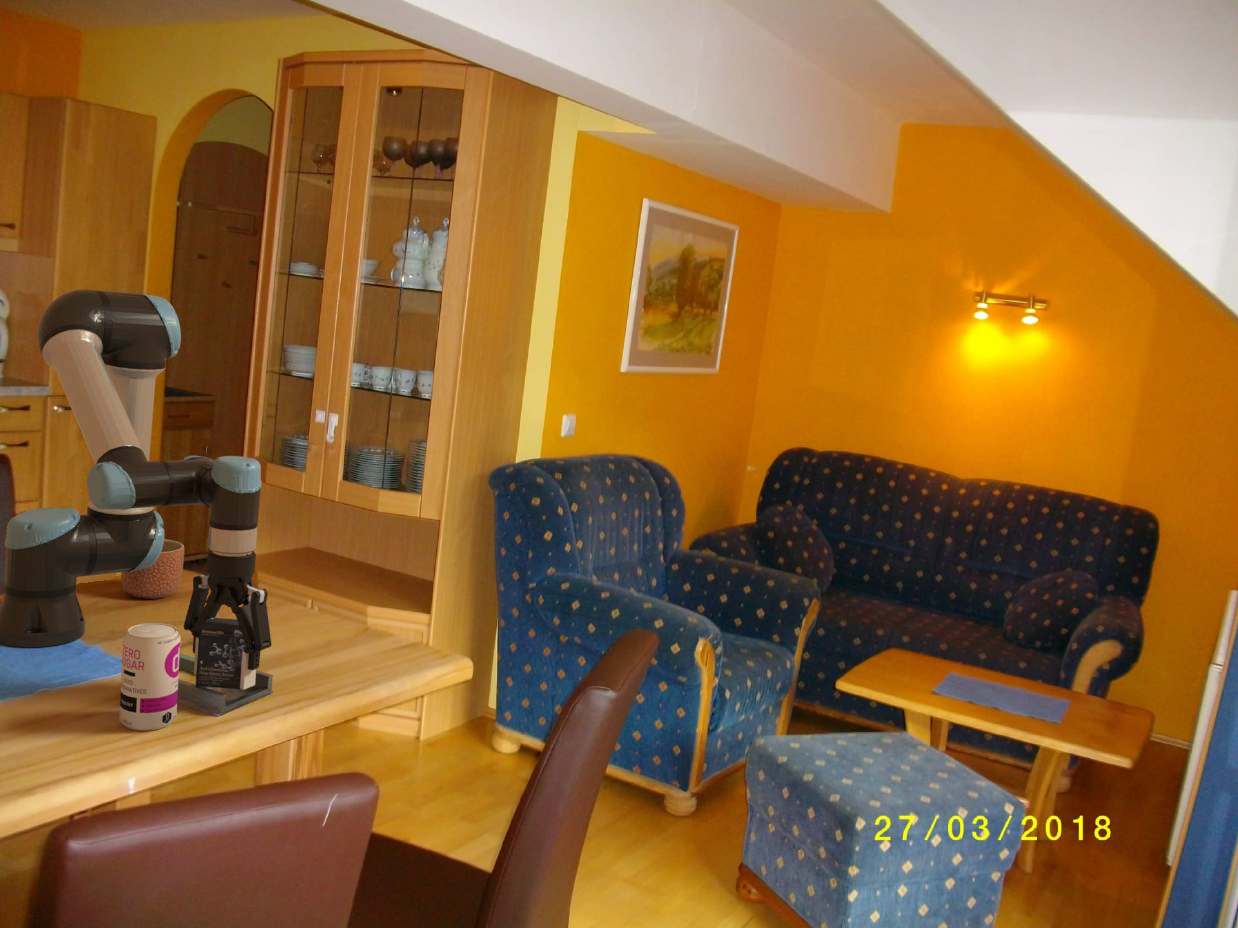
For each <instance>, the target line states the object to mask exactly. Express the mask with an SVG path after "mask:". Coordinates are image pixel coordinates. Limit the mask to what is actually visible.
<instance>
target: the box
mask: <svg viewBox="0 0 1238 928" xmlns="http://www.w3.org/2000/svg"><path fill="white" fill-rule="evenodd" d="M253 644H254V641H253ZM244 650H247V648H246V645H245V642H244V639H243V636H242V633H241V630H240V627H239V624H238V621H237V618H236V619H235V618H234V619H233V618H222V617H220V618H219V617H215V618H214V617H213V618H210V619H207V620H206V621H205V622H204V623H203V624H202V625H201V626H200V628H199V641H198V658H197V672H196V675H195V676H196V677H195V684H196V685H199V686H204V687H216V688H229V689H238V690H243V689H240V681H241V666H242V651H244Z"/></svg>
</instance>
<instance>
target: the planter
mask: <svg viewBox="0 0 1238 928" xmlns="http://www.w3.org/2000/svg"><path fill="white" fill-rule="evenodd" d="M184 559H185V545H184V544H183V543H182V542H179V541H176V540H172V539H166V538H164V543H163V548H162V551H161V553H160V556H159V557H158V559H157V560H156V562H155V563H153V564H152V565H151V566H150V567H148V568H146V569H141V570H134V571H132V572H120V580H121V586H122V588H123V589H124V590H125V591H126V593H128V595H130V596H132V597H135V598H138V599H143V600H155V599H156V600H157V599H164V598H167V597H169V596H171V595H172V594H174V593H175V592H176V591H177V590H178V589H179V588H180V586H181V584H182V579H183V569H184V561H185V560H184Z"/></svg>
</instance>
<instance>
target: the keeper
mask: <svg viewBox="0 0 1238 928" xmlns="http://www.w3.org/2000/svg"><path fill="white" fill-rule="evenodd" d="M273 677H274V676H273V674H271V673H267V672H264V671H260V670H257V669H256V678H255V685H254V686H252V687H249V688H247V689H244V690H238V689H229V688H216V687H204V686H199V685H196V683H193V682H192V683H191V682H189V681H186V680H182V679H178V696H177V705H181V706H183V707H187V708H190V709H194V710H197V711H199V712H202V713H205V714H209V715H212V716H215V717H221V716H223V715H225V714H227V713H230V712H233V711H234V710H237V709H240V708H241V707H244V706H246V705H248V704H251V703H253V702H255V701H257V700H261V699H263V698H265V697H267V696H270V695H271V694H273V693H274V690H273V689H272V688H273Z"/></svg>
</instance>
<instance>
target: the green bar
mask: <svg viewBox="0 0 1238 928" xmlns="http://www.w3.org/2000/svg"><path fill="white" fill-rule="evenodd" d="M194 662H195V656H190V655H187V654H184V653H181V652H180V659H179V669H181V670H185V671H187V672H192V673H194Z"/></svg>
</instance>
